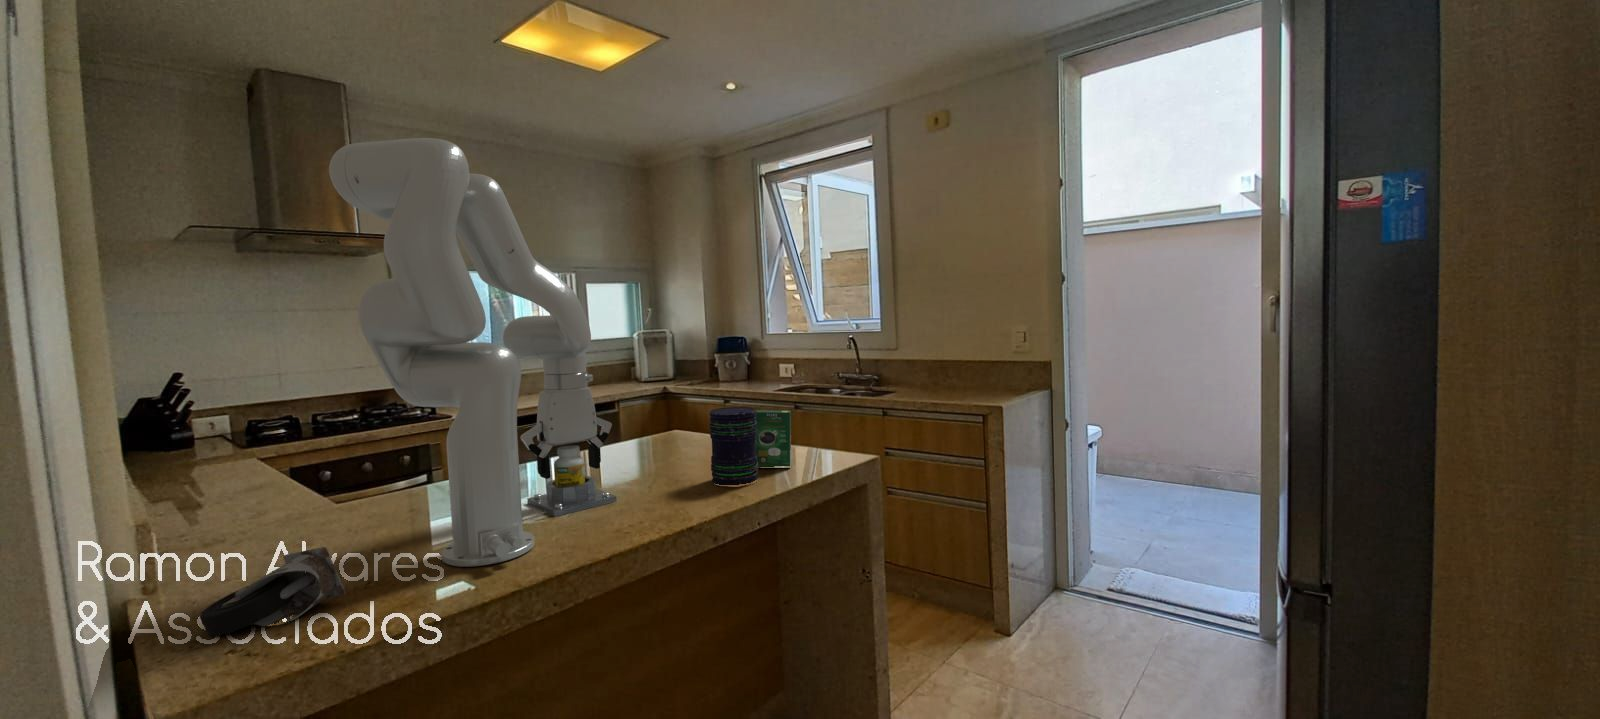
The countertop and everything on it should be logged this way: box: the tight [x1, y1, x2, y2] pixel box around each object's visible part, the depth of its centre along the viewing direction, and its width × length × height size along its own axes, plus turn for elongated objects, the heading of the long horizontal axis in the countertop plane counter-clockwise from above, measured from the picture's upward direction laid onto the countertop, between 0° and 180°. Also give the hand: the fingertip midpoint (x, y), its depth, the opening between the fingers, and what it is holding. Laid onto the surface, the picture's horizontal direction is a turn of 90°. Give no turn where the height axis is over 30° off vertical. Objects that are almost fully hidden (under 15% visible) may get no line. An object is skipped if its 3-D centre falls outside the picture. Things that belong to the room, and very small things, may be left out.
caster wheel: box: [199, 546, 347, 637], centre depth 76 cm, size 7×11×10 cm
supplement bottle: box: [553, 445, 586, 487], centre depth 120 cm, size 5×5×10 cm
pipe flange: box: [526, 475, 618, 518], centre depth 121 cm, size 12×12×4 cm
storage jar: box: [709, 406, 759, 485], centre depth 133 cm, size 10×10×15 cm
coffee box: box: [755, 409, 792, 467], centre depth 143 cm, size 8×3×13 cm, turn 85°
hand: (570, 472), depth 120 cm, fingers open, 9 cm apart
